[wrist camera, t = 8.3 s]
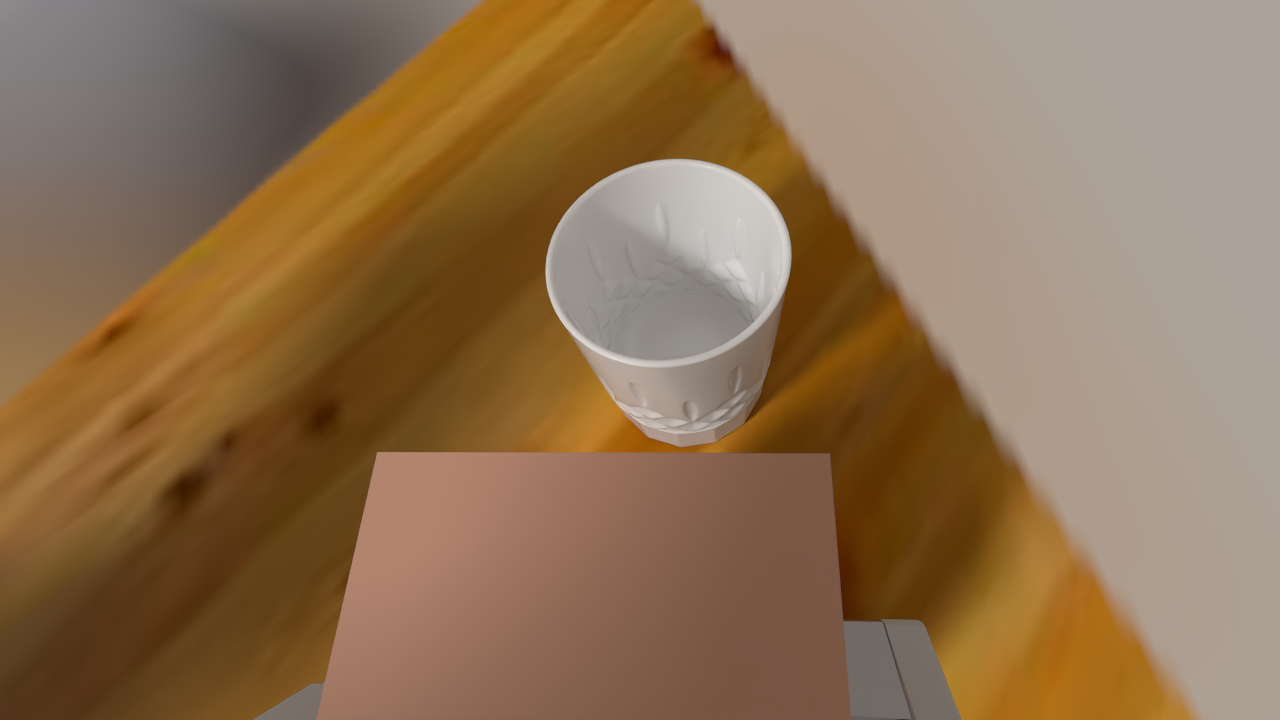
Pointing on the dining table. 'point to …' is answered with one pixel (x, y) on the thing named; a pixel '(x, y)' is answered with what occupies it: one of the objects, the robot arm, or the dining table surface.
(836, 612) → the tall block
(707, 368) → the white cup
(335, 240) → the dining table surface
